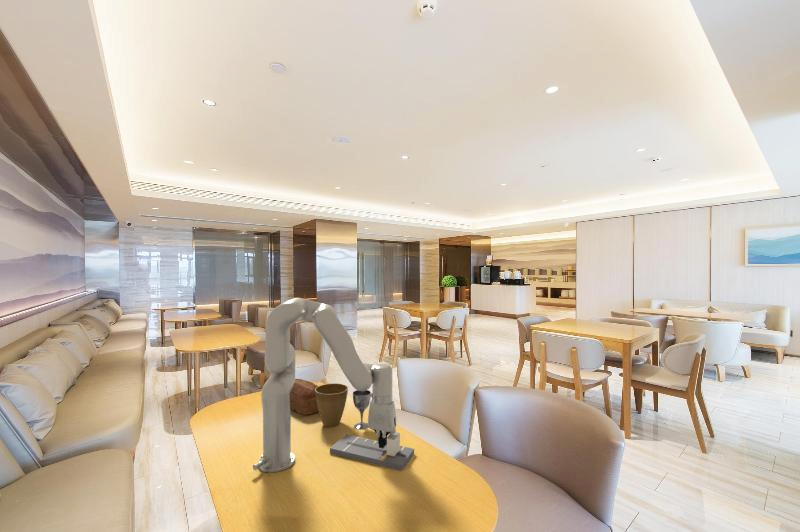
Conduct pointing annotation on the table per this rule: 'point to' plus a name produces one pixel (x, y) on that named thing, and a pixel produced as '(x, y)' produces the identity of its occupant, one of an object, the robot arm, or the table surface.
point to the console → (371, 452)
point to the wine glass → (361, 406)
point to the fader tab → (393, 444)
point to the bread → (303, 397)
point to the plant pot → (331, 403)
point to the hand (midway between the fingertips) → (382, 446)
